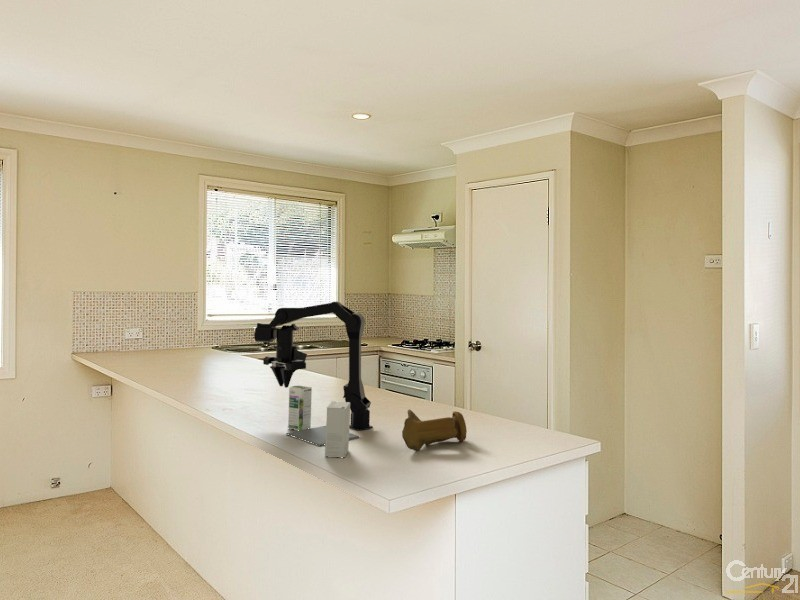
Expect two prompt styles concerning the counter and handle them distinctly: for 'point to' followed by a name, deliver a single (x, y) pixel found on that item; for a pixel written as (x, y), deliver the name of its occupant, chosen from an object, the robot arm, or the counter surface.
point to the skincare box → (337, 429)
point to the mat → (315, 435)
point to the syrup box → (299, 407)
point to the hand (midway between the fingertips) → (283, 386)
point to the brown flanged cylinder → (432, 430)
